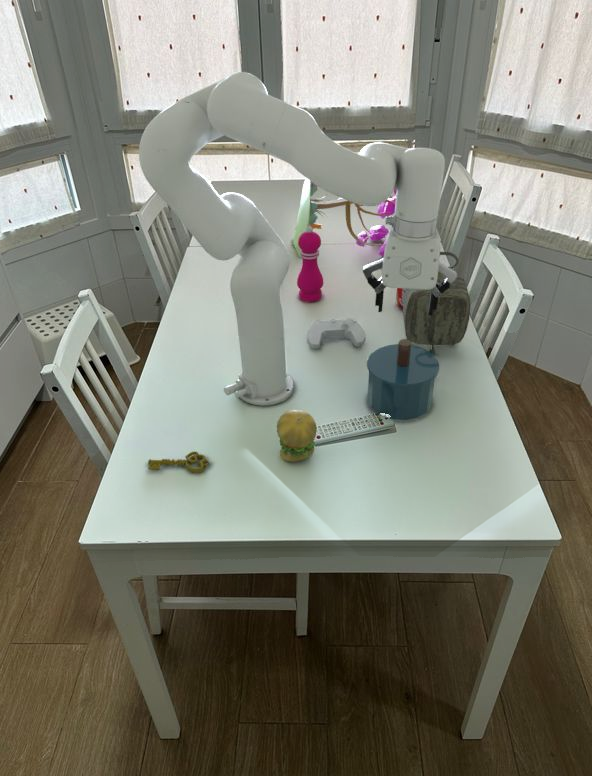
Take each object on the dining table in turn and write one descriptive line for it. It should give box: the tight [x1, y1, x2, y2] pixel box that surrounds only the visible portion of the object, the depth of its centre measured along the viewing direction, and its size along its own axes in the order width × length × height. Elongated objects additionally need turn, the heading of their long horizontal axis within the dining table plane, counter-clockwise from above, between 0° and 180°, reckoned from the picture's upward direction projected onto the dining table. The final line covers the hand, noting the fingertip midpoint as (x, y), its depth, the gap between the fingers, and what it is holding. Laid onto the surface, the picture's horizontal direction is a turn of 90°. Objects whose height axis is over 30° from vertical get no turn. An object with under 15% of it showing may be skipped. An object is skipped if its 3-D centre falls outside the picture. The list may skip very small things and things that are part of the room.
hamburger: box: [276, 409, 318, 463], centre depth 119 cm, size 8×7×12 cm
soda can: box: [395, 288, 405, 311], centre depth 164 cm, size 7×7×12 cm
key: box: [148, 451, 210, 474], centre depth 122 cm, size 12×1×5 cm
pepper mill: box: [296, 226, 324, 303], centre depth 167 cm, size 7×7×20 cm
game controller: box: [306, 317, 367, 349], centre depth 154 cm, size 14×4×10 cm
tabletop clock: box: [402, 251, 471, 356], centre depth 143 cm, size 14×9×25 cm, turn 86°
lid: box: [366, 338, 440, 387], centre depth 128 cm, size 15×15×6 cm
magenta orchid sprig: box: [293, 177, 396, 259], centre depth 191 cm, size 30×28×35 cm
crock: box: [366, 371, 436, 421], centre depth 133 cm, size 14×14×10 cm
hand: (405, 310), depth 122 cm, fingers open, 9 cm apart
